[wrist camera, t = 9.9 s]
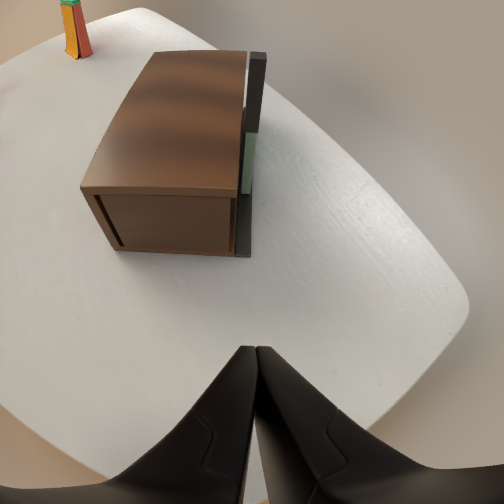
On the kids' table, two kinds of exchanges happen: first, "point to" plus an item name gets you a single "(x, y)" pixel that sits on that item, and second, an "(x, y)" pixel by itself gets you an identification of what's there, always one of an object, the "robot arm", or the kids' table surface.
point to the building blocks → (75, 29)
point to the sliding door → (252, 115)
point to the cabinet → (176, 159)
